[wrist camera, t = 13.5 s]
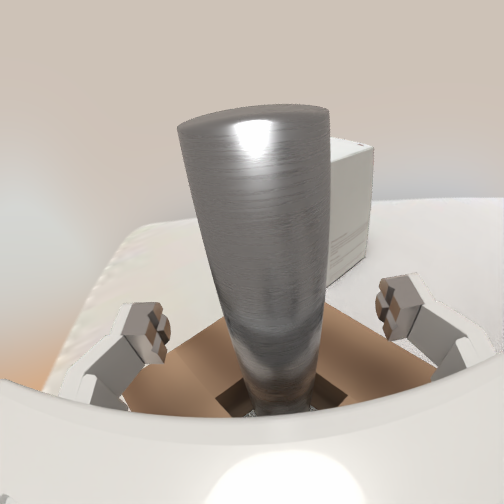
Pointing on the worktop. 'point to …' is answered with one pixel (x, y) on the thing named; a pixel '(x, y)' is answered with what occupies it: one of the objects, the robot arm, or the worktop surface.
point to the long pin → (266, 239)
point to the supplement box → (349, 204)
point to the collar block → (233, 386)
